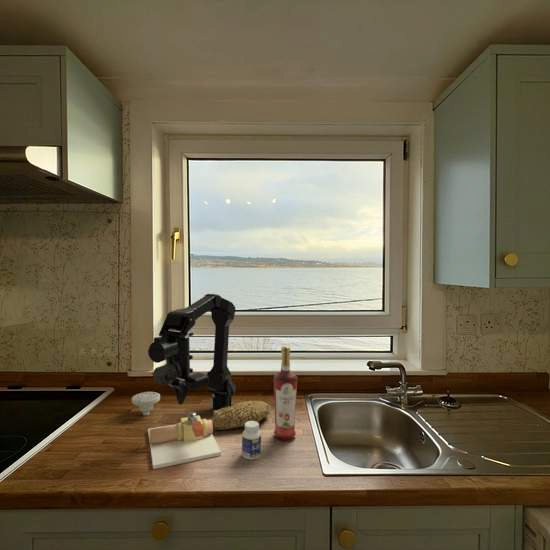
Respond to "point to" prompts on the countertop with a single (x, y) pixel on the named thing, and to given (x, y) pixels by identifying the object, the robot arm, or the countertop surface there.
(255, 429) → the pill bottle
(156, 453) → the valve board
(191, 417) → the valve lever
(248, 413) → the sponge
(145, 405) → the showerhead
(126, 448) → the countertop surface
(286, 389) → the liquor
